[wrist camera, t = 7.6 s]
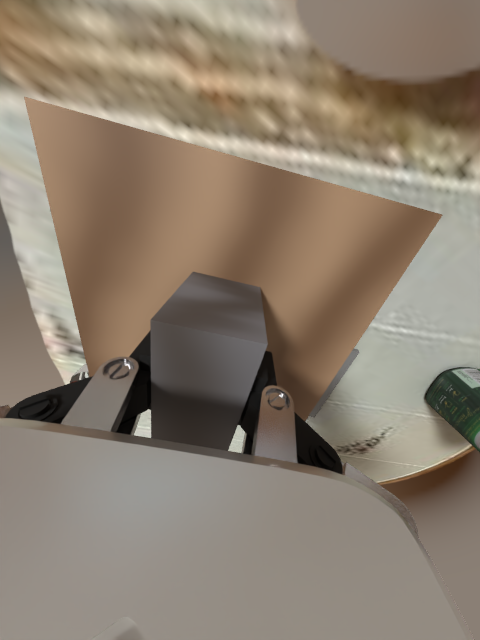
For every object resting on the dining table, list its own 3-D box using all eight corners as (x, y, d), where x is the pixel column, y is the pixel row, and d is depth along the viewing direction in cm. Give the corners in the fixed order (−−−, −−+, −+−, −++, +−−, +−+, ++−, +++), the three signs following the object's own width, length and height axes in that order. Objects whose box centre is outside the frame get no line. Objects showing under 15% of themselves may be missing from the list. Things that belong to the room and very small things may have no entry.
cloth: (424, 214, 9) (648, 222, 4) (294, 421, 18) (313, 510, 12) (48, 108, 8) (-328, -76, 3) (102, 386, 16) (34, 470, 11)
